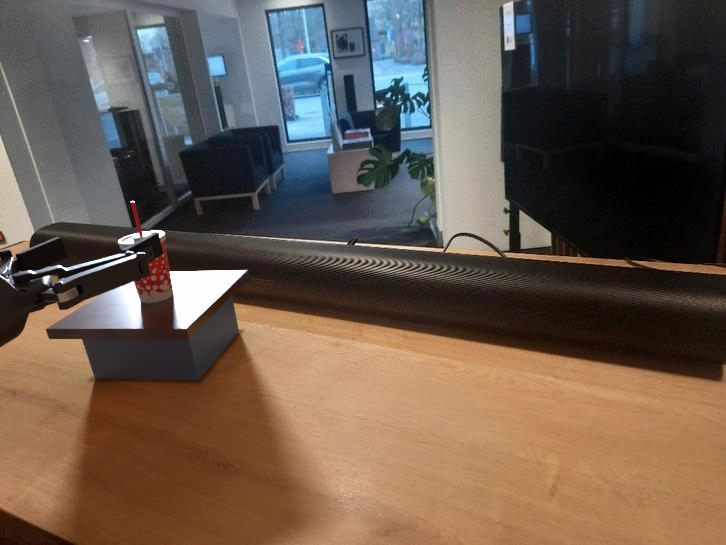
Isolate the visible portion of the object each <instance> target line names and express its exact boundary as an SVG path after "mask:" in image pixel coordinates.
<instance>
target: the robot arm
mask: <svg viewBox="0 0 726 545" xmlns="http://www.w3.org/2000/svg"><path fill="white" fill-rule="evenodd" d="M120 252H121V253H118V254H114V255H111V256H110V255H109V256H106V257H102V258H99V259H95V260H91V261H88V262H84V263H79V264H75V265H72V266H69V267H63V266H62V265H60V264H57V265H54V264H56V263H58V262H60V261H62V260H65V259H66V258H68V254H67V251H66V248H65V244H64V242H63V238H62V236H55V237H53V238H50V239H48V240H45V241H43V242H42V243H39V244H36V245H34V246H31V247H30V248H29V247H28V248H27V249H24V250H22V251H20V252H17V253H15V254H14V255H15V257H14V255H13V253H12V250H11V249H4V250H1V251H0V348H2V347H4V346H6V345H7V344H8V343H10V342H12V341H13V340H15V339H17V338H18V337H19V336H20V335H21V334H22V333H23V332H24V329H25V327H26V324H27V321H28V318H29V316H30V314H32V313H35V312H36V313H37V312H38V311H42V310H44V309H45V308H46V307H47V306H51V305H54V304H57V307H58V310H60V311H66V310H69V309H72V308H73V307H75V306H77V305H79V304H81V303H83V302H84V301H87V300H90V299H93V298H94V297H95V298H96V297H98V296H99V295H101V294H103V293H105V292H108V291H110V290H113V289H116V288H118V287H121V286H124V285H126V284H129V283H131V282H134V281H139V280H141V279H142V278H145V277H147V276H150V275H151V273H150V269H149V265H148V263H150V262H151V261H153V260H154V259H156V258H158V257H159V256H161V255H162V254H164V253H163V249H162V245H161V241H160V237H159V233H152V234H150V235H149V236H147V237H145V238H143V239H141V240H139V241H137V242H135V243H134V244H132V245H130V246H128V247H126V248H124V249H121V250H120ZM52 265H53V266H52ZM53 275H56V278H57V281H56V282H54V281H53V279H52V277H51V276H53Z"/></svg>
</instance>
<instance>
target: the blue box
mask: <svg viewBox="0 0 726 545" xmlns="http://www.w3.org/2000/svg"><path fill="white" fill-rule="evenodd" d="M239 328H240V327H239V323H238V319H237V314H236V308H235V303H234V299H233V295H232V296H231V298H230V299H229V300H228V301H227V302H226V303H225V304H224V305H223V306H222V307H221V308H220V309H219V310H218V311H217V312H216V313H215V314H214V315H213V316H212V317H211V318H210V319H209V320H208V321H207V322H206V323H205V324H204V325H203V326H202V327H201V328H200V329H199V330H198V331H197V332H196V333H195V334H194V335H193V336H192V337H191V338H190V339H81V341H82V343H83V344H82V345H83V347H84V350H85V354H86V356H87V360H88V362H89V365H90V368H91V371H92V374H93V377H94V379H95V380H97V379H99V380H146V381H147V380H148V381H150V380H152V381H200V380H201V379H202V377H203V376H204V375H205V373H206V372H207V371H208V370H209V369H210V368H211V366H212V365H213V364H214V363H215V361H216V360H217V359H218V358H220V356H221V354H222V353H223V352H224V351H225V349H226V348H227V347H228V346H229V345H230V344H231V342H232V341H233V340H234V338H235V337H236V336H237V335H238V334H239V332H240V329H239Z"/></svg>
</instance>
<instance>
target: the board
mask: <svg viewBox="0 0 726 545" xmlns="http://www.w3.org/2000/svg"><path fill="white" fill-rule="evenodd" d="M170 275H171V281H172V286H173V292H174V293H173V295H172V296H171V297H170V298H168V299H166V300H163V301H159V302H154V303H143V302H141V301H140V299H139V296H138V293H137V290H136V287H135V284H134V282H131V283H129V284H126V285H124V286H121V287H118V288H116V289H113V290H110V291H108V292H105V293H103V294H100V295H97V296H95V298H92V299H91V300H90V301H88V302H87V303H85V304H83V305H82V306H80V307H78V308H77V309H75V310H74V311H72V312H70V313H69V314H67V315H66V316H64V317H62V318H61V319H60V320H58V321H56V322H55V323H53V324H51V325H50V326H48V327H47V328H45V332H46V335H47V337H48V339H49V340H82V339H190V338H191V337H192V336H193V335H194V334H195V333H196V332H197V331H198V330H199V329H200V328H201V327H202V326H203V325H204V324H205V323H206V322H207V321H208V320H209V319H210V318H211V317H212V316H213V315H214V314H215V313H216V312H217V311H218V310H219V309H220V308H221V307H222V306H223V305H224V304H225V303H226V302H227V301H228V300H229V299H230V298H231V296H232V297H233V296H234V295H235V294H236V293H237V292H238V291H239V290H240V289H241V288H242V287H243V286H244V285H245V284H246V283H247V282H248V280H250V274H249V270H248V269H233V270H231V269H230V270H196V271H170Z"/></svg>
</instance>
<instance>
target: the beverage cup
mask: <svg viewBox="0 0 726 545" xmlns="http://www.w3.org/2000/svg"><path fill="white" fill-rule="evenodd" d="M130 205H131V208H132V212H133V216H134V217H133V218H134V220H135V225H136V228H137V233H136V232H135V233H133V234H129V235H126V236H123V237H122V238H119V239H118V241H117V244H118V246H119V249H121V250H122V249H124V248H126V247H128V246H130V245H132V244H134V243H135V242H137V241H139V240H141V239H143V238H145V237H147V236H149V235H150V234H152V233H159V237H160V241H161V245H162V249H163V253H164V254H162V255H161V256H159V257H158V258H156V259H154V260H153V261H151V262H150V263H148V265H149V269H150V273H151V275H150V276H147V277H145V278H142V279H141V280H139V281H134V284H135V287H136V290H137V293H138V296H139V299H140V301H141V302H143V303H154V302H159V301H163V300H166V299H168V298H170V297H171V296H172V295H173V293H174V292H173V286H172V281H171V275H170V272H171V270H170V264H169V259H168V252H167V246H166V242H165V241H167V240H166V239H167V237H166V232H164V231H162V230H150V231H149V230H148V231H143V229H142V225H141V221H140V218H139V214H138V210H137V206H136V202H135V201H134V200H132V201H130Z"/></svg>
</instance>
